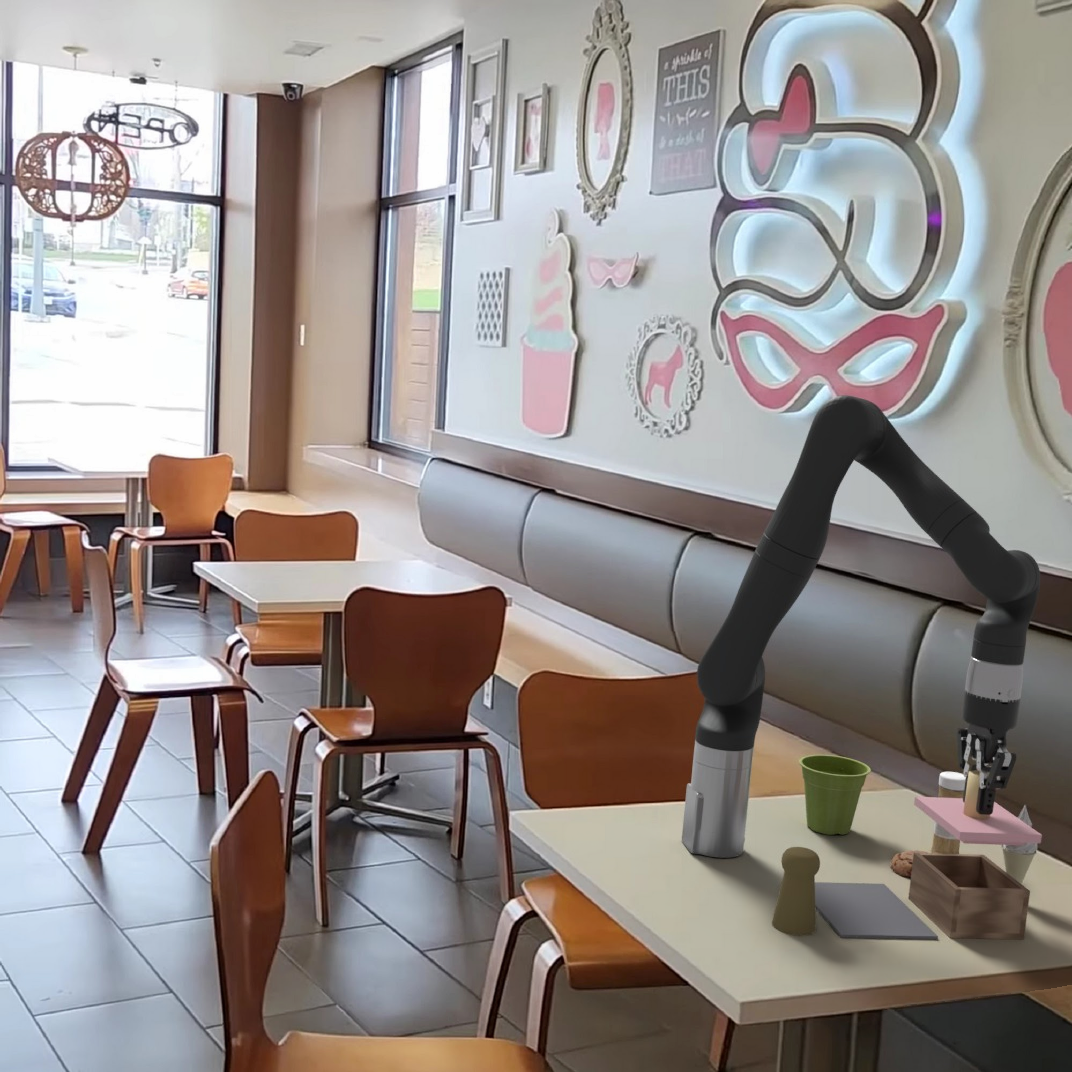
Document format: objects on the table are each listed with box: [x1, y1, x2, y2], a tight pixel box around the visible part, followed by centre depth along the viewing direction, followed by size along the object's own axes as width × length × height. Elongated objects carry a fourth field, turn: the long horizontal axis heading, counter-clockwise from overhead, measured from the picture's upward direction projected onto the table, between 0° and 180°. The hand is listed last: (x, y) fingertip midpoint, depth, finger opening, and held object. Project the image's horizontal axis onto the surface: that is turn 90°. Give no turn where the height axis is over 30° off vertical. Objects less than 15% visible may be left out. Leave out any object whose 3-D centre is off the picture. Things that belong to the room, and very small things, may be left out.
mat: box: [815, 881, 939, 940], centre depth 199 cm, size 14×19×1 cm
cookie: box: [890, 850, 929, 878], centre depth 217 cm, size 10×11×3 cm
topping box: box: [908, 852, 1031, 940], centre depth 199 cm, size 11×14×7 cm
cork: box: [771, 846, 821, 936], centre depth 191 cm, size 6×6×11 cm
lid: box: [913, 771, 1043, 846], centre depth 197 cm, size 12×15×8 cm
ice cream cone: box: [1000, 804, 1038, 885], centre depth 207 cm, size 5×5×15 cm
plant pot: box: [798, 754, 872, 836], centre depth 234 cm, size 12×12×11 cm
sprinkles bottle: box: [930, 771, 966, 854], centre depth 225 cm, size 5×5×14 cm
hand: (977, 808), depth 197 cm, fingers closed on lid, 3 cm apart
